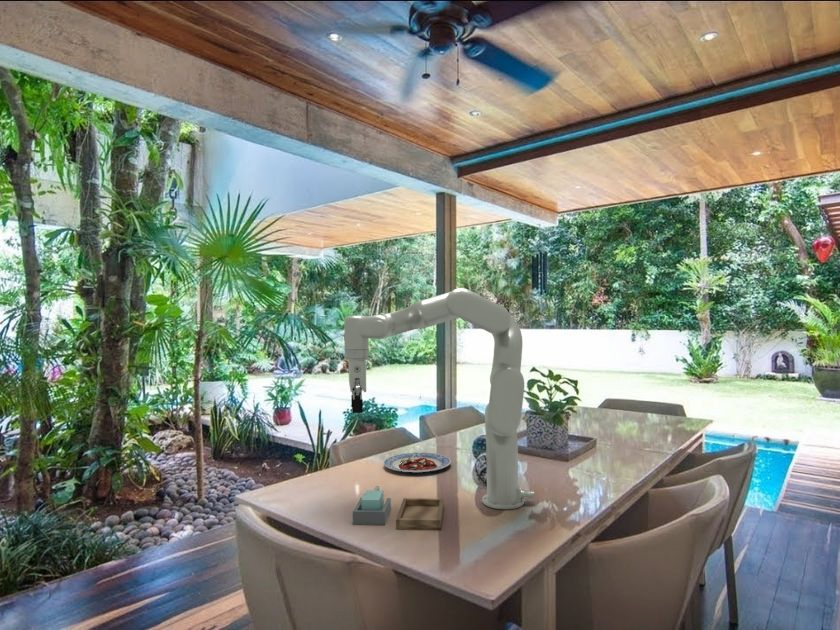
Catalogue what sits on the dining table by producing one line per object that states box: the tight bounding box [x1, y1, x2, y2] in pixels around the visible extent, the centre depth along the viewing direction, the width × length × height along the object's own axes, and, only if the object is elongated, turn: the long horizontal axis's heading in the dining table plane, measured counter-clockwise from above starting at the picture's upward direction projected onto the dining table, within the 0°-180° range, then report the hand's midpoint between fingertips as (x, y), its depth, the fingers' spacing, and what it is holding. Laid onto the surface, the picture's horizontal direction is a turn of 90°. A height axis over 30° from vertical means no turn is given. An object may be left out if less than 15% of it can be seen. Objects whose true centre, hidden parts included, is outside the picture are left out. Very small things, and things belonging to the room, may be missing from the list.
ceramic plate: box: [383, 452, 452, 474], centre depth 197 cm, size 26×26×3 cm
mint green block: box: [361, 485, 385, 511], centre depth 150 cm, size 5×12×6 cm, turn 175°
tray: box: [395, 497, 444, 531], centre depth 146 cm, size 12×16×2 cm
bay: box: [352, 497, 392, 526], centre depth 147 cm, size 9×11×4 cm
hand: (356, 410), depth 160 cm, fingers open, 9 cm apart
